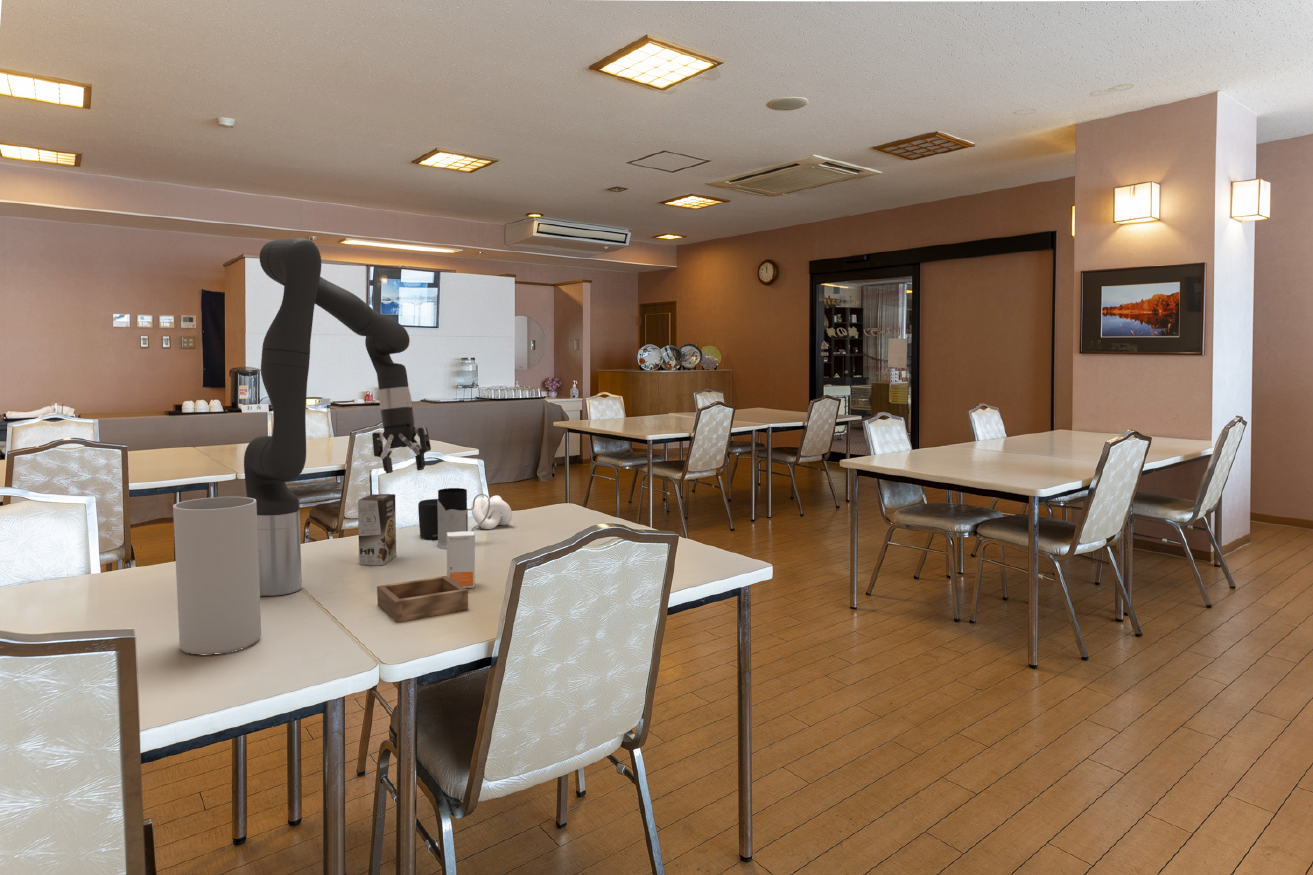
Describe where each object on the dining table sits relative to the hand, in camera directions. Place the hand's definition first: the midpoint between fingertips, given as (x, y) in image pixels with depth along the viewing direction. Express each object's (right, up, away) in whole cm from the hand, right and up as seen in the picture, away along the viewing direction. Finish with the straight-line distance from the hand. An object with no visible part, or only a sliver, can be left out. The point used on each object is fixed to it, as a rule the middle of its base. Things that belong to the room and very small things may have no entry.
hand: (405, 471), depth 195 cm
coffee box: (-7, -22, 0) cm, 23 cm away
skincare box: (+19, -25, -21) cm, 38 cm away
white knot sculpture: (+13, -19, +41) cm, 47 cm away
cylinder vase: (-14, -28, -57) cm, 65 cm away
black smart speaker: (0, -20, +27) cm, 33 cm away
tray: (+15, -26, -36) cm, 47 cm away
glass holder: (+10, -21, +18) cm, 29 cm away
